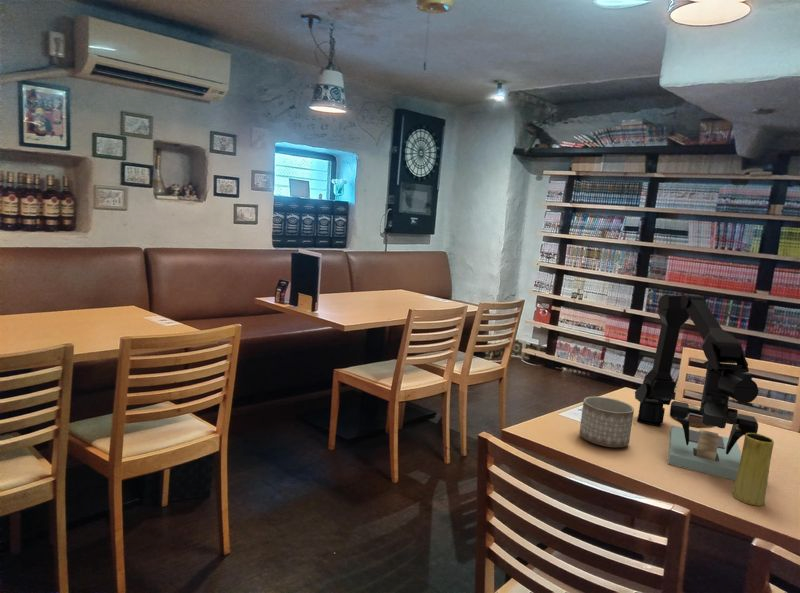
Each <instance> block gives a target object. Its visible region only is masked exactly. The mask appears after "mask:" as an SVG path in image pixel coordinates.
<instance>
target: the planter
mask: <svg viewBox="0 0 800 593" xmlns="http://www.w3.org/2000/svg"><path fill="white" fill-rule="evenodd" d="M634 412H635V408H634V406H632V405H631V404H630V403H628V402H625V401H622V400H620V399H616V398H611V397H605V396H595V395H594V396H587V397H585V398H584V399H583V402H582V410H581V418H580V424H579V426H580V427H579V430H578V431H579V435H580V436H581V437H582V439H584V440H585V441H587V442H590V443H593V444H595V445H599V446H602V447H607V448H624V447H627V446H628V445H630V441H631V440H630V439H631V431H632V427H633V426H632V425H633V419H634Z"/></svg>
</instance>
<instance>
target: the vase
mask: <svg viewBox="0 0 800 593" xmlns="http://www.w3.org/2000/svg"><path fill="white" fill-rule="evenodd" d="M773 449H774V440H773V438H771V437H769V436H766V435H764V434H761V433H757V434H756V433H746V434H745V435H744V440H743V445H742V450H741V460H740V464H739V469H738V473H737V476H736V481H735V480H734V481H735V482H734V486H733V490H732V492H731V493H732V496H733V497H734V498H735V499H736V500H738V501H740V502H742V503H744V504H747V505H751V506H757V507H759V506H763V505H766V504H765V503H766V494H767V488H768V481H769V480H768V479H769V474H770V473H769V472H770V468H771V467H770V465H771V459H772V456H773V455H772V454H773Z"/></svg>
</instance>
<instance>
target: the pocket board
mask: <svg viewBox="0 0 800 593" xmlns="http://www.w3.org/2000/svg"><path fill="white" fill-rule="evenodd" d="M699 433H700V430H696V429H695V430H694V429H691V428H689V444H688V445H686V440H685V434H684V430H683V427H681V426H676V425H673V424H671V428H670V433H669V450H668V451H669V452H668V465H671V466H672V465H673V466H676V467H680V468H683V469H688V470H691V471H696V472H700V473H703V474H708V475H710V476H711V475H712V476H715V477H719V478H724V479H727V480H728V479H729V480H732V481H736V476H737V473H738V469H739V464H740V460H741V455H742V453H741V451H740V448H739V447H740V446H739V444H738V441H737V442H736V443H735V444H734V446H733V447H732V449H731V450H730V452H729V454H728V455H727V454H726V447H727V443H728V440H729V437H728V436H722V435H718V436H719V442H718V448H717V453H716V459H715V461H714V460H710V459H706V458H702V457H698V456H696V451H697V445H698V439H699Z"/></svg>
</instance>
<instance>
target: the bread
mask: <svg viewBox="0 0 800 593" xmlns="http://www.w3.org/2000/svg"><path fill="white" fill-rule="evenodd" d="M689 408H693V409H698V410H700V407H698V406H696V405H694V404H689ZM672 418H673V419H674V420H676V417H672ZM702 419H703V418H699V417H695V416H690V415H689V427H693V428H706V427H711V425H709V426H708V425H705V424H703V423H702Z"/></svg>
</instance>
